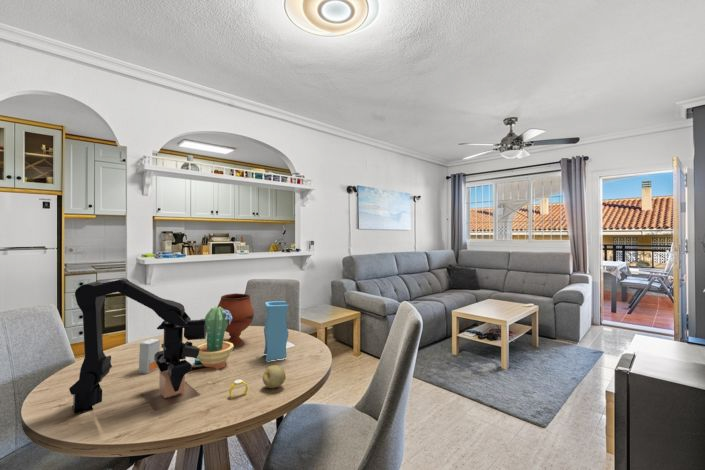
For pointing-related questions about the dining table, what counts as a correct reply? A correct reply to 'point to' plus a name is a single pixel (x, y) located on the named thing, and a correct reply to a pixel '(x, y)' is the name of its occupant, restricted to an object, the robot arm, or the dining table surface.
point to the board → (160, 402)
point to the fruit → (274, 376)
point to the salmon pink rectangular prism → (169, 385)
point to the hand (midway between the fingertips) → (171, 386)
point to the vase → (276, 330)
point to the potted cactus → (216, 339)
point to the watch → (237, 384)
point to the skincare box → (148, 355)
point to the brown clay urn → (237, 315)
